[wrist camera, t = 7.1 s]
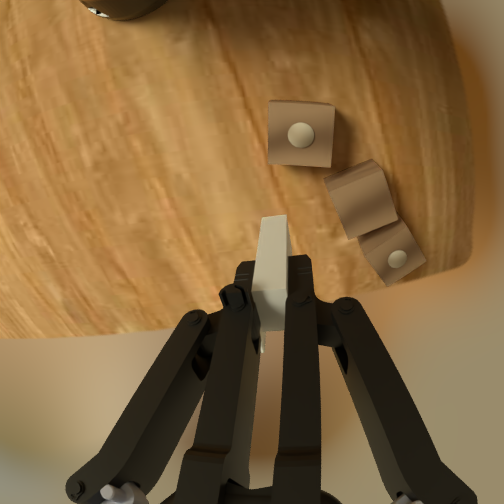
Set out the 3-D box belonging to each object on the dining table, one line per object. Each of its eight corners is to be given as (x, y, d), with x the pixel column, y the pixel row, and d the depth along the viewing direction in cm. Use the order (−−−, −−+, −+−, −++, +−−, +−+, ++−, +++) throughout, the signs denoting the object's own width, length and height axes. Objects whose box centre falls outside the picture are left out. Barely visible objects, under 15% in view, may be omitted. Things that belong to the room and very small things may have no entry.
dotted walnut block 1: (270, 99, 32) (268, 102, 28) (328, 103, 31) (335, 106, 27) (269, 153, 36) (267, 164, 31) (325, 156, 35) (330, 168, 31)
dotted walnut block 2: (356, 236, 41) (364, 256, 36) (395, 209, 38) (407, 227, 33) (379, 266, 43) (387, 288, 39) (415, 242, 40) (427, 261, 36)
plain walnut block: (323, 178, 37) (328, 192, 33) (371, 158, 34) (382, 169, 30) (342, 221, 40) (348, 239, 36) (386, 203, 37) (398, 219, 33)
